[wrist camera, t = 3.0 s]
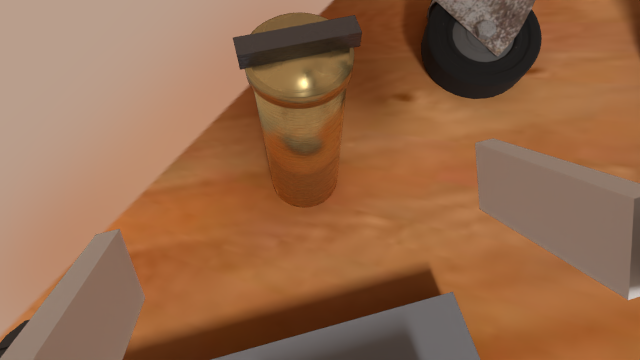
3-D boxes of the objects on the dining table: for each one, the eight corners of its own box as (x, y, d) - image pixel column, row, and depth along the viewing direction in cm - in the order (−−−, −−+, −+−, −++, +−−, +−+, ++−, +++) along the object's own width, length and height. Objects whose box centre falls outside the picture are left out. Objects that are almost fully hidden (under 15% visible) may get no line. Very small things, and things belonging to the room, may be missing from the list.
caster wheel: (465, 129, 34) (381, 46, 35) (563, 44, 35) (476, -32, 37) (495, 95, 27) (390, -4, 29) (614, -9, 28) (505, -98, 30)
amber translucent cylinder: (331, 140, 30) (342, -15, 18) (351, 199, 28) (376, 66, 16) (260, 156, 29) (225, 5, 18) (275, 218, 27) (245, 92, 16)
